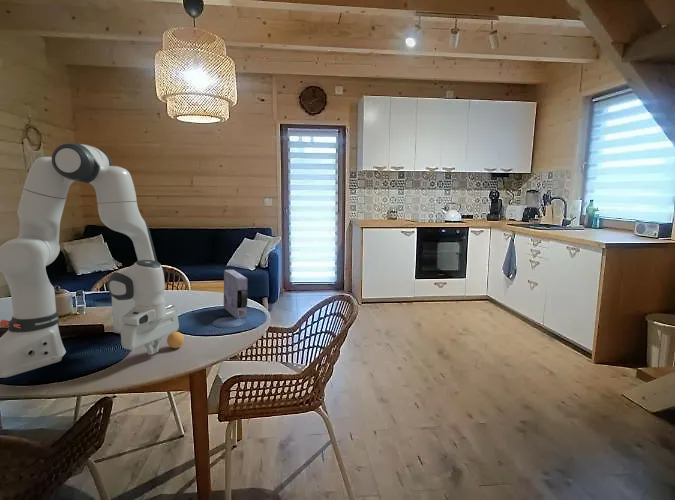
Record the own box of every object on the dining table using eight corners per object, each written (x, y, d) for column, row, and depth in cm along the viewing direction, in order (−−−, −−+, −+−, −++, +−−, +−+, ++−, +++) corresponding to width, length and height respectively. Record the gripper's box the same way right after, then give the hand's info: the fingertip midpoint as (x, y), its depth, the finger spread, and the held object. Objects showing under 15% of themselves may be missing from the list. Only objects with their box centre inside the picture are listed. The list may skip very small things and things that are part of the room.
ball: (189, 334, 147) (184, 350, 146) (177, 331, 150) (173, 347, 148) (177, 332, 142) (173, 348, 141) (166, 329, 145) (161, 345, 144)
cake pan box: (248, 318, 178) (248, 277, 176) (237, 320, 176) (236, 278, 173) (233, 306, 194) (233, 268, 192) (223, 308, 192) (222, 269, 189)
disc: (232, 329, 164) (232, 329, 164) (205, 325, 169) (205, 324, 169) (251, 320, 176) (251, 319, 176) (225, 316, 181) (225, 315, 181)
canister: (108, 327, 165) (105, 276, 162) (144, 319, 174) (141, 271, 171) (121, 336, 155) (117, 282, 152) (158, 327, 165) (155, 277, 162)
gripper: (168, 302, 145) (170, 340, 147) (116, 319, 127) (119, 363, 129) (182, 304, 143) (184, 343, 145) (131, 322, 124) (134, 366, 126)
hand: (153, 353), depth 137 cm, fingers closed
